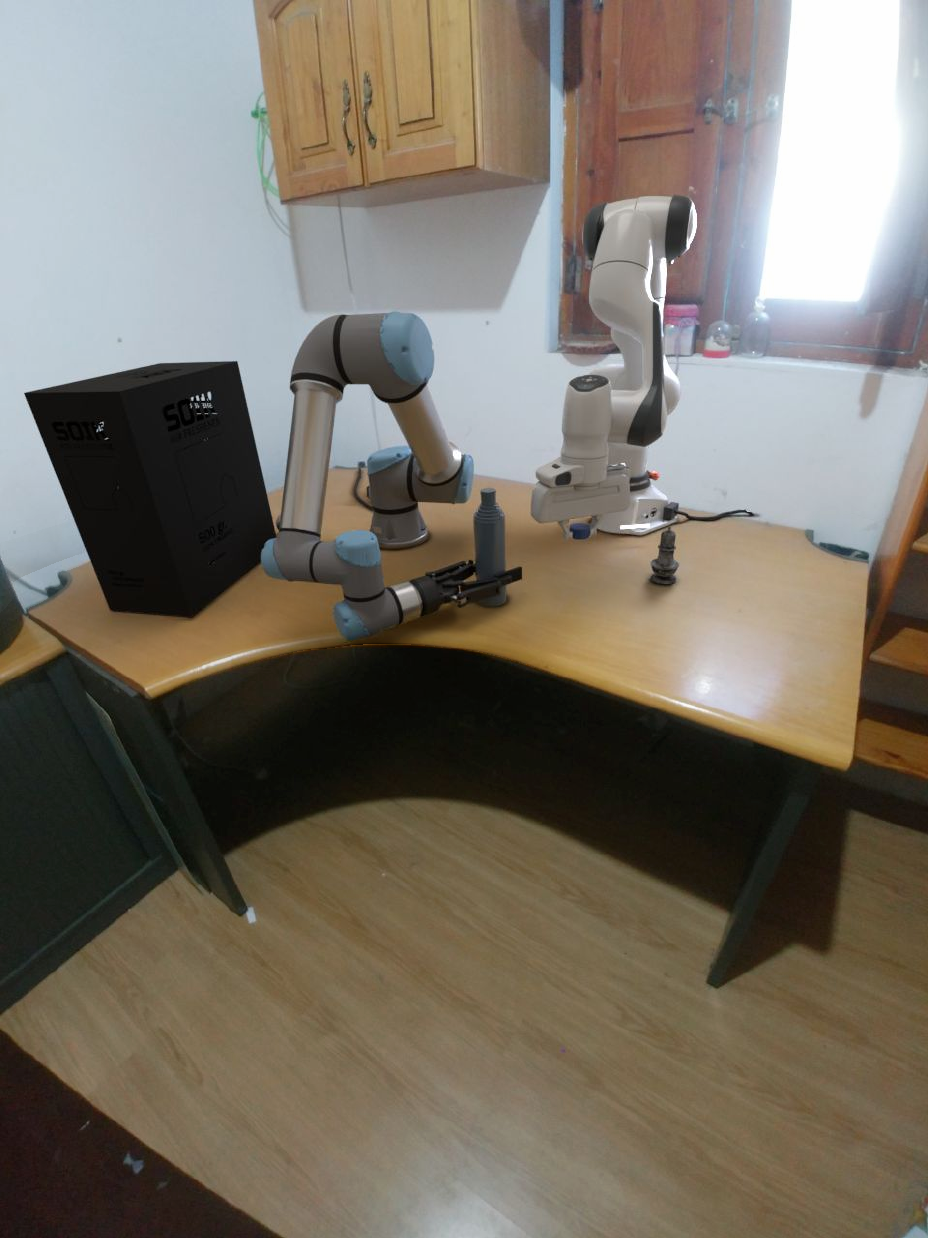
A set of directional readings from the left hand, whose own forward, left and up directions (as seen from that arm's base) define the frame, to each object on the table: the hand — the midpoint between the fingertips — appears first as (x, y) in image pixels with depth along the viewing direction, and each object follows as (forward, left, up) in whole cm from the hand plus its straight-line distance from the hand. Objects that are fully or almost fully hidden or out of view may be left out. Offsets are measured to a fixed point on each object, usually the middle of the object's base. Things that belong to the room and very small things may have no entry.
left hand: (510, 567), depth 126 cm
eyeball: (-65, -28, -6) cm, 71 cm away
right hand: (+9, +11, +7) cm, 15 cm away
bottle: (0, -5, -6) cm, 8 cm away
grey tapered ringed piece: (+15, +30, -6) cm, 34 cm away
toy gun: (-76, +13, -6) cm, 77 cm away
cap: (+9, +11, +9) cm, 16 cm away
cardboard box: (-52, -53, -6) cm, 75 cm away
